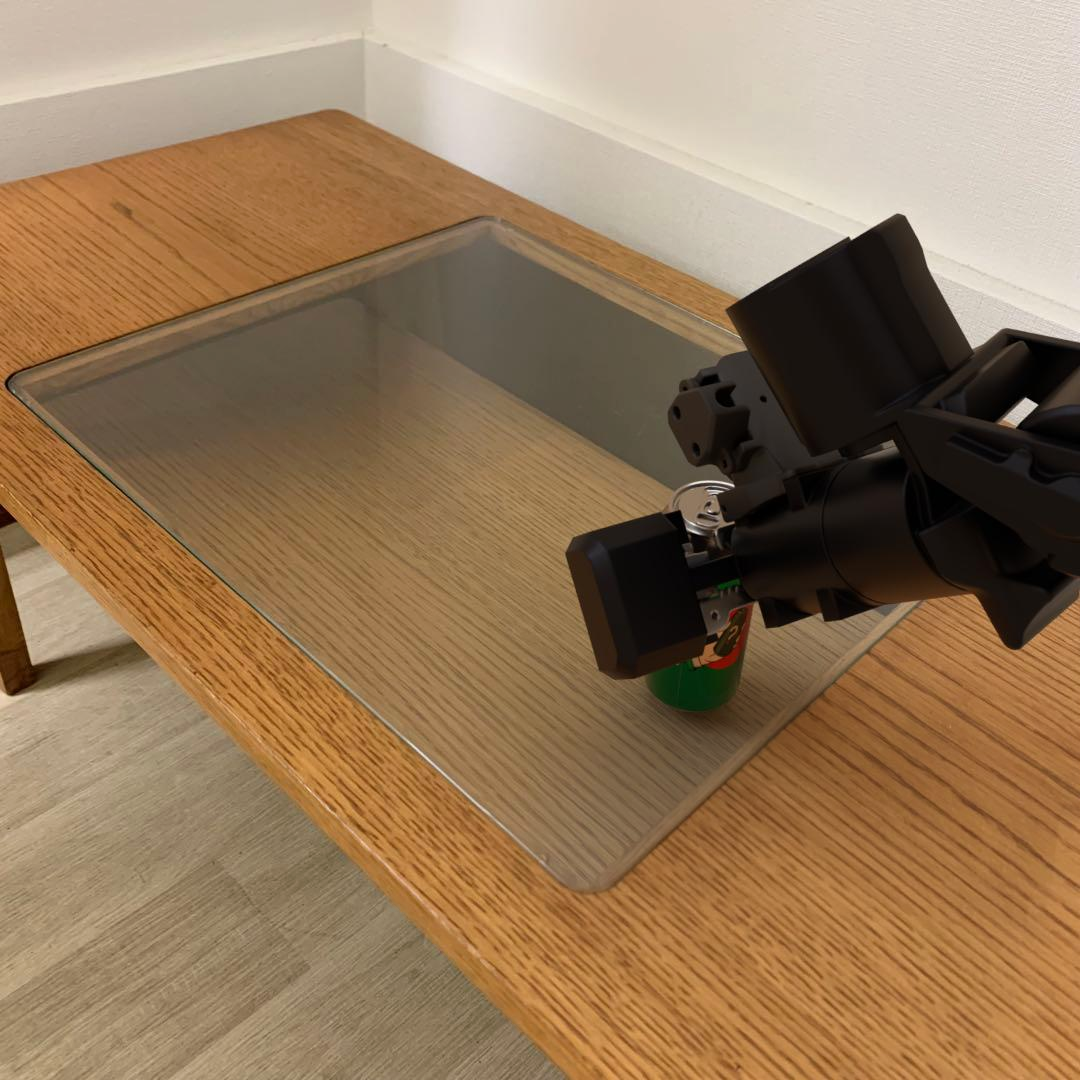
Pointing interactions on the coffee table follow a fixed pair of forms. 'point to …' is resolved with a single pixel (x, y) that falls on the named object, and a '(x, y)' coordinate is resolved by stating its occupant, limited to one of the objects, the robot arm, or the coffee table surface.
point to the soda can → (722, 661)
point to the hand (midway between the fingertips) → (684, 572)
